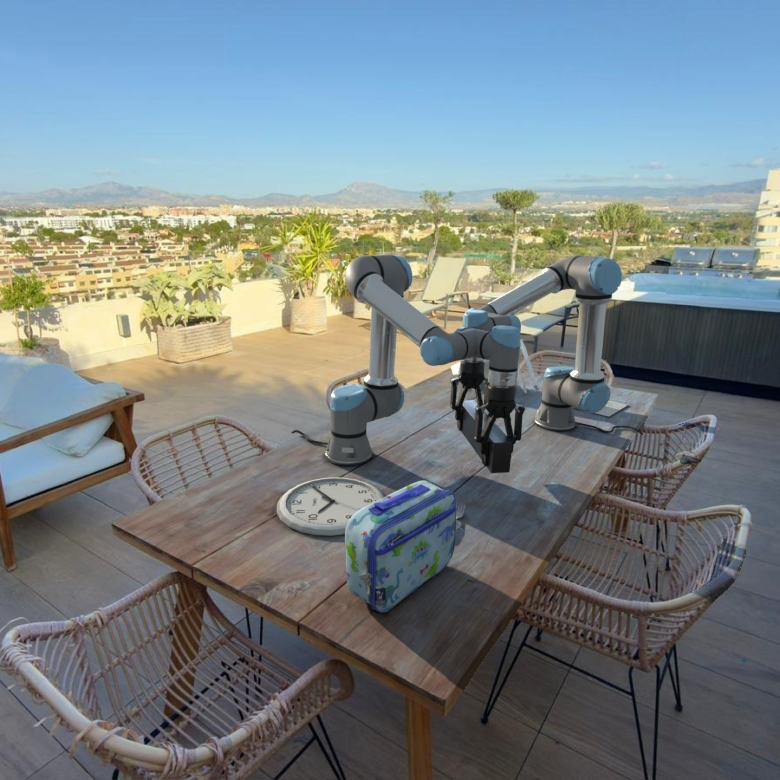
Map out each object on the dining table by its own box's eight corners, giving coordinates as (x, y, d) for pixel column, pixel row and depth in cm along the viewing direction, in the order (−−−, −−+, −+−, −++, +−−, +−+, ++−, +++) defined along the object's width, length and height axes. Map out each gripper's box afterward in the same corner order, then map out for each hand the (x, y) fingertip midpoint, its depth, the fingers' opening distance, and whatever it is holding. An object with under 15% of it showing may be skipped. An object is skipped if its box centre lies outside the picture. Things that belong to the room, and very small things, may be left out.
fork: (441, 539, 128) (441, 532, 127) (456, 508, 142) (456, 501, 141) (451, 541, 127) (452, 534, 126) (465, 510, 141) (466, 503, 141)
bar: (456, 425, 175) (458, 400, 173) (472, 425, 176) (473, 399, 173) (491, 473, 142) (493, 442, 139) (509, 472, 143) (512, 441, 140)
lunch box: (374, 626, 100) (375, 530, 93) (338, 598, 107) (337, 508, 101) (459, 568, 117) (465, 484, 111) (424, 547, 124) (427, 467, 118)
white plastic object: (472, 423, 260) (450, 400, 235) (454, 348, 282) (432, 320, 258) (544, 398, 248) (529, 371, 223) (519, 323, 270) (503, 291, 245)
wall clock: (392, 527, 129) (268, 531, 127) (391, 533, 130) (269, 537, 127) (383, 473, 158) (282, 475, 155) (383, 478, 158) (282, 480, 156)
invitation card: (608, 416, 214) (573, 407, 224) (608, 416, 214) (573, 408, 224) (628, 404, 229) (594, 396, 238) (628, 405, 229) (594, 397, 238)
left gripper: (472, 389, 134) (467, 471, 141) (540, 387, 137) (531, 468, 144) (464, 381, 142) (459, 459, 148) (529, 379, 144) (521, 456, 151)
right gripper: (447, 363, 160) (443, 434, 167) (504, 362, 162) (498, 432, 169) (441, 357, 167) (438, 425, 174) (496, 356, 169) (491, 423, 176)
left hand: (495, 463), depth 146 cm, fingers open, 5 cm apart
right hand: (468, 428), depth 171 cm, fingers closed on bar, 5 cm apart
